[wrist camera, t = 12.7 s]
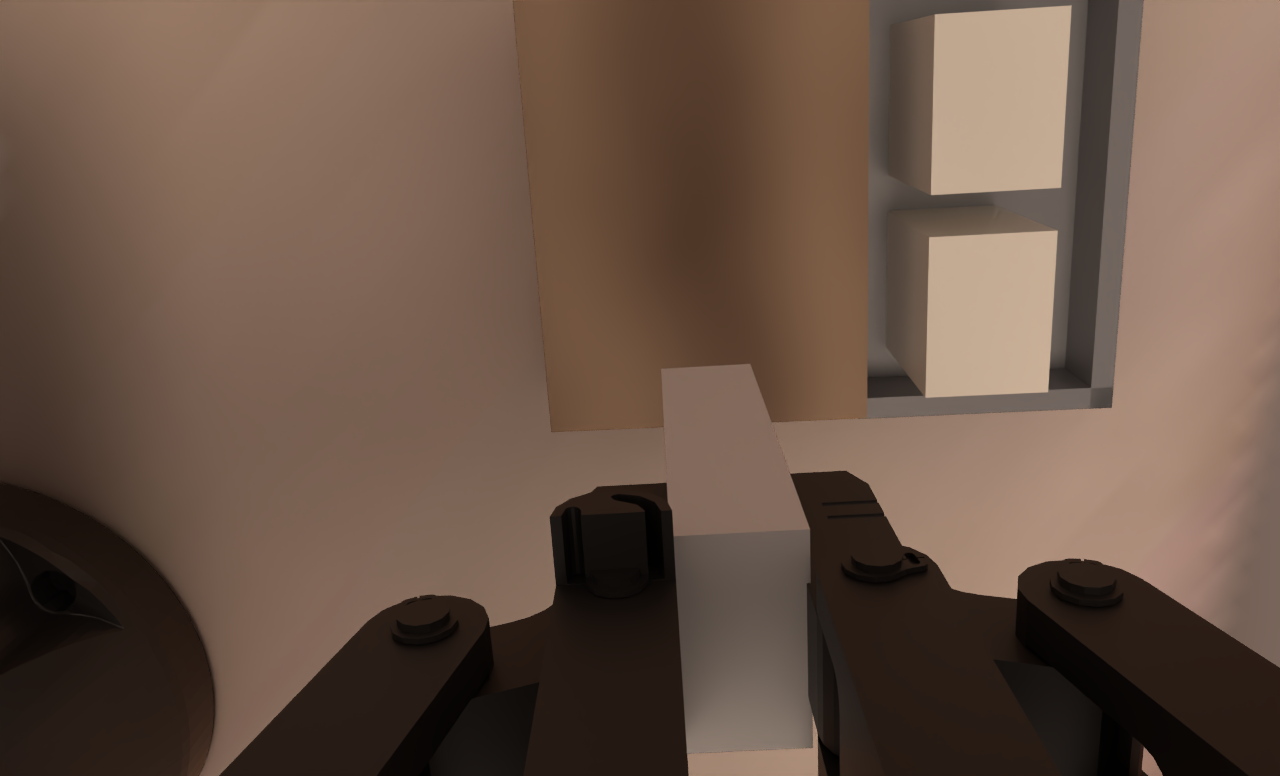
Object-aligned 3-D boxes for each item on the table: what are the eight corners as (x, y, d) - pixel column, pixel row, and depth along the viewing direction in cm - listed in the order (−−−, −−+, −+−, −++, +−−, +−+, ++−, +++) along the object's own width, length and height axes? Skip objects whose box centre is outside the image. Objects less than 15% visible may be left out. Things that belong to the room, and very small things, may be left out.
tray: (843, 391, 31) (858, 418, 29) (843, -29, 28) (859, -40, 25) (1076, 381, 31) (1111, 407, 28) (1105, -47, 27) (1148, -59, 25)
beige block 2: (925, 398, 25) (1048, 392, 25) (929, 236, 24) (1058, 230, 24) (886, 346, 30) (989, 342, 30) (887, 210, 29) (994, 205, 29)
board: (566, 389, 32) (551, 432, 28) (534, 10, 28) (512, 0, 25) (843, 375, 31) (867, 417, 27) (843, -10, 28) (869, -24, 24)
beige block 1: (930, 195, 24) (1061, 187, 24) (934, 14, 23) (1071, 5, 23) (888, 175, 29) (996, 169, 29) (890, 25, 28) (1002, 17, 27)
